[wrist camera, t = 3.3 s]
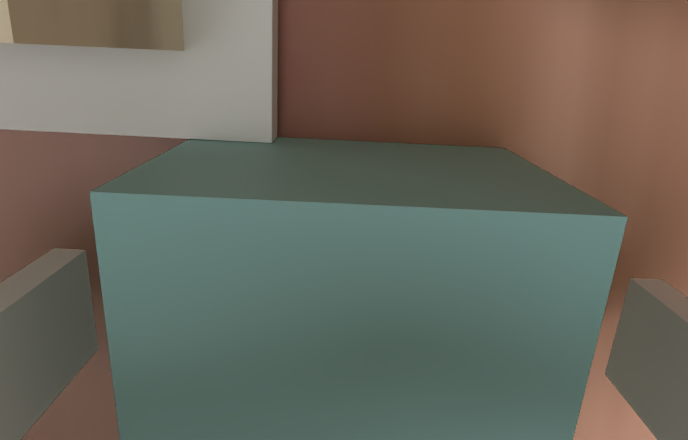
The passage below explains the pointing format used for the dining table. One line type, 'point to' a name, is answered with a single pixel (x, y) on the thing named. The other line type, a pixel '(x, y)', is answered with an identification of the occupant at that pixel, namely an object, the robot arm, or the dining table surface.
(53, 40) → the beech block
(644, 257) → the dining table surface
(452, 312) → the teal block
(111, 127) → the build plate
